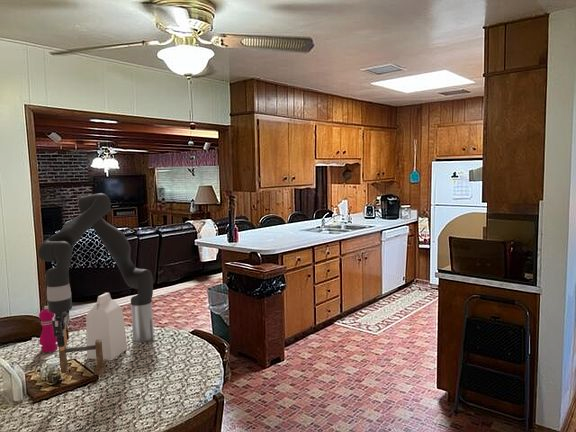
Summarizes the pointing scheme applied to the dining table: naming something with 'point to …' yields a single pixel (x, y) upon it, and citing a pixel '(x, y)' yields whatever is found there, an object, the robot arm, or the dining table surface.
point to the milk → (106, 328)
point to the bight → (64, 339)
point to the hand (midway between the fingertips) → (63, 342)
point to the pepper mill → (47, 331)
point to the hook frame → (97, 346)
